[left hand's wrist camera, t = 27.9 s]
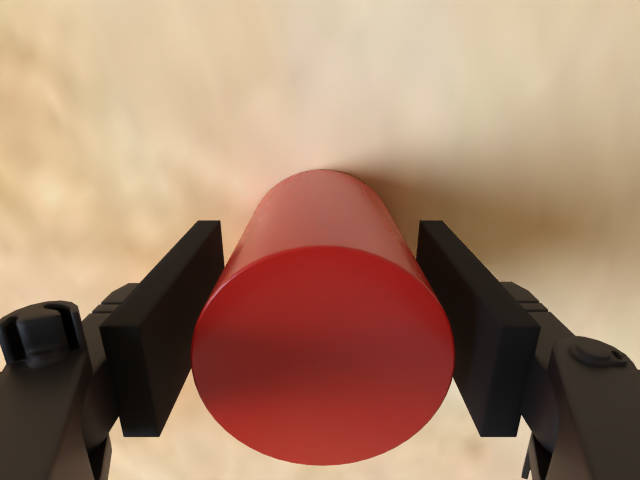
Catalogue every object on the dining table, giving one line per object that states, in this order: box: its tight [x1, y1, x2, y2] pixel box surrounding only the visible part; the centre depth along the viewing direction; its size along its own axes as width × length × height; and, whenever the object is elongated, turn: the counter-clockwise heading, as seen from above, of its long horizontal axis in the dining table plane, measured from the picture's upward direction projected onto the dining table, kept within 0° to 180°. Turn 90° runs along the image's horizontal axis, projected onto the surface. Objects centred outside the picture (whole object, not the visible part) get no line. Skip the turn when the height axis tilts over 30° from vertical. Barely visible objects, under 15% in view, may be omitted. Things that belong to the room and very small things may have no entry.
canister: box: [191, 170, 455, 466], centre depth 12 cm, size 6×6×8 cm
